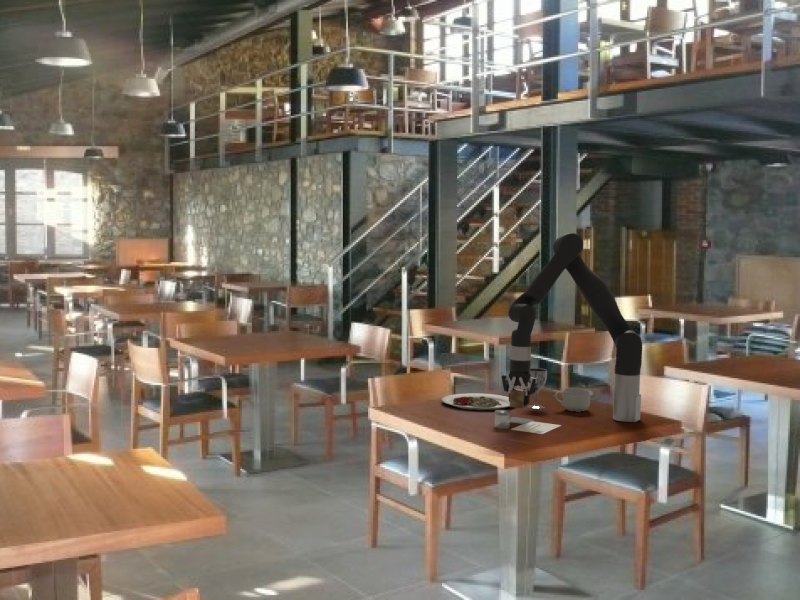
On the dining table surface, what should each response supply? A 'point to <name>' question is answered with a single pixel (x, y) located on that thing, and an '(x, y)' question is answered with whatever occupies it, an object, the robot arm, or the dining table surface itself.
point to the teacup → (574, 399)
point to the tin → (502, 419)
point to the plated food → (477, 401)
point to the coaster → (520, 420)
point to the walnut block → (517, 398)
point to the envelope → (536, 427)
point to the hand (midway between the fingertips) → (518, 404)
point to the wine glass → (538, 384)
